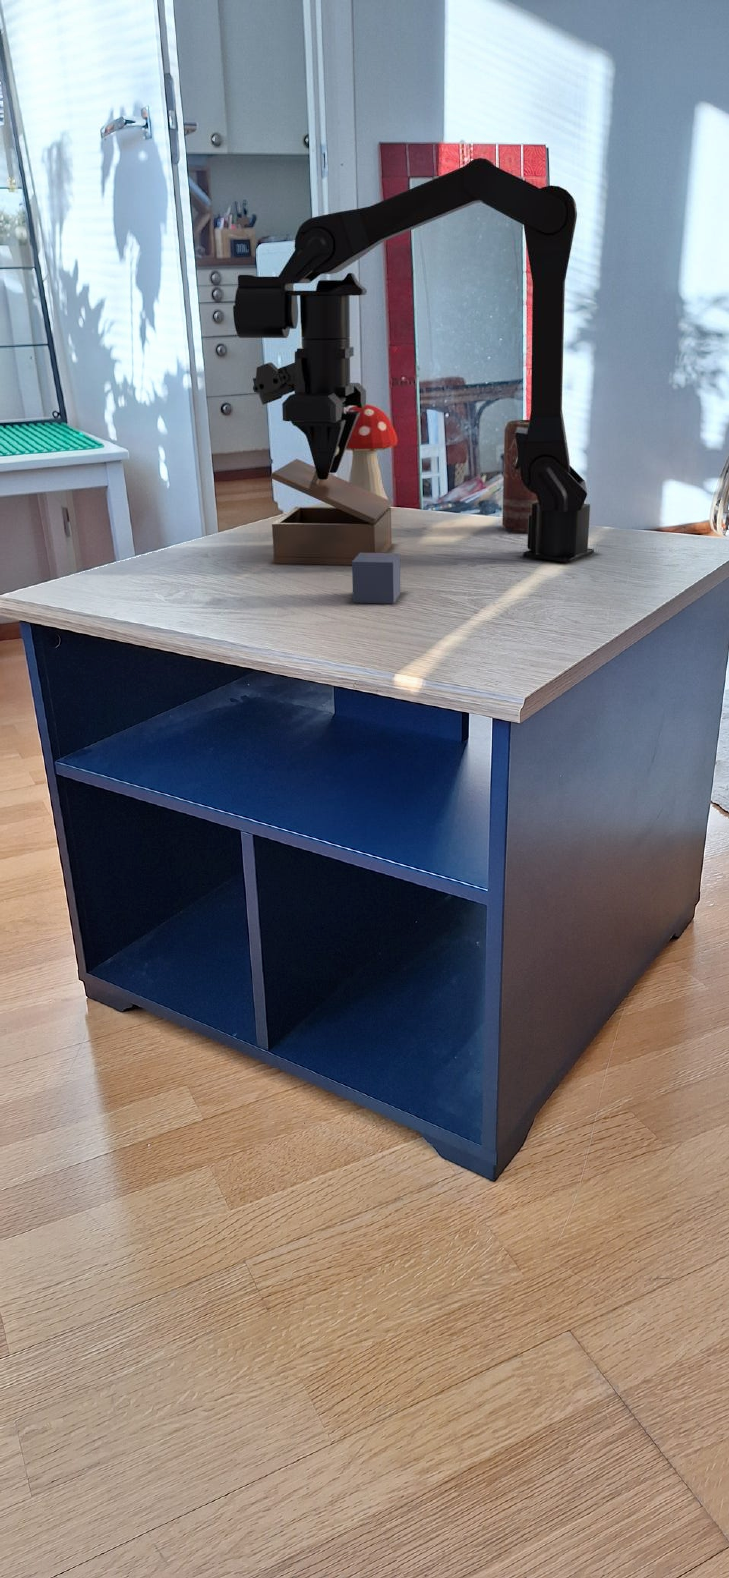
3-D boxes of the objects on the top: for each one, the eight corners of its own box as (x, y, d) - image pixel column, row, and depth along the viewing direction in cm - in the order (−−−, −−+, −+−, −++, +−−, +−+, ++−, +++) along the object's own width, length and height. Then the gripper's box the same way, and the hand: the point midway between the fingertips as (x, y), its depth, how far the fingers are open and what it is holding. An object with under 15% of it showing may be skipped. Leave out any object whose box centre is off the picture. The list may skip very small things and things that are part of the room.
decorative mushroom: (407, 506, 169) (406, 402, 163) (384, 516, 162) (382, 408, 156) (348, 502, 173) (345, 401, 167) (323, 512, 166) (319, 407, 160)
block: (400, 593, 121) (400, 553, 119) (393, 603, 117) (393, 562, 116) (361, 592, 122) (360, 552, 120) (353, 602, 118) (351, 561, 116)
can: (552, 532, 148) (557, 423, 143) (504, 534, 149) (507, 424, 143) (546, 524, 154) (550, 417, 148) (500, 525, 154) (502, 419, 148)
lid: (270, 478, 132) (284, 436, 130) (294, 463, 142) (308, 425, 140) (373, 524, 132) (389, 484, 129) (390, 506, 142) (405, 469, 140)
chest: (274, 563, 136) (271, 524, 134) (297, 543, 146) (295, 506, 144) (375, 565, 134) (374, 525, 132) (391, 545, 144) (391, 507, 142)
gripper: (279, 334, 139) (283, 463, 146) (235, 342, 123) (242, 486, 129) (366, 335, 138) (367, 465, 144) (333, 342, 121) (335, 489, 127)
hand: (327, 475), depth 136 cm, fingers closed on lid, 5 cm apart
